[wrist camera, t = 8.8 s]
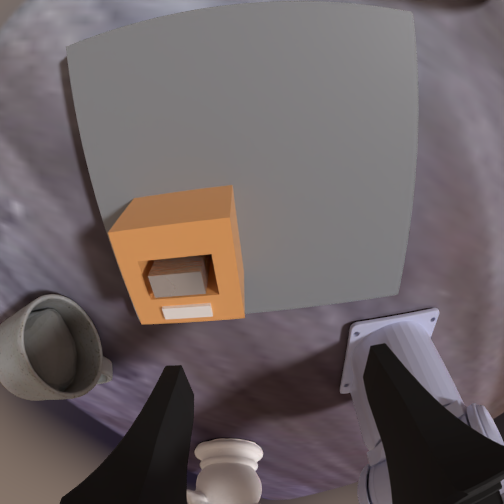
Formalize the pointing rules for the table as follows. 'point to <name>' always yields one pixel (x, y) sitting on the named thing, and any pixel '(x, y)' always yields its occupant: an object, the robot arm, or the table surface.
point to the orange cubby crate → (182, 253)
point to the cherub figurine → (227, 473)
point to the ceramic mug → (51, 351)
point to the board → (265, 135)
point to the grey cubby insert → (180, 276)
